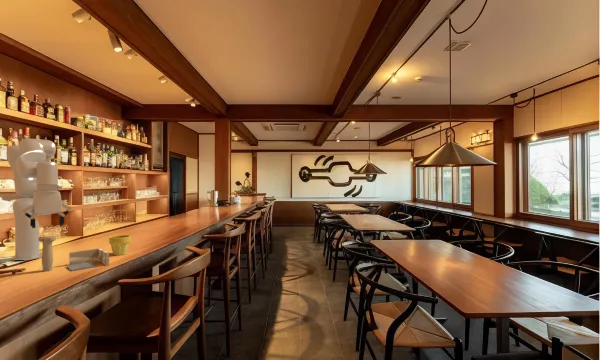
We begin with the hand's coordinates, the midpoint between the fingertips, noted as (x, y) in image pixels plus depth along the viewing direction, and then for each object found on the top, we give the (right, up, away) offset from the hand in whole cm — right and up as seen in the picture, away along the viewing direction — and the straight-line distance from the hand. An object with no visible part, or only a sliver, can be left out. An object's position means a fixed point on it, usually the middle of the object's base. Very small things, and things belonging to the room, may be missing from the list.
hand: (47, 226), depth 139 cm
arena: (+13, -20, +9) cm, 25 cm away
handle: (0, -20, 0) cm, 20 cm away
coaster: (+11, -20, +6) cm, 24 cm away
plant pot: (+14, -20, +31) cm, 40 cm away
